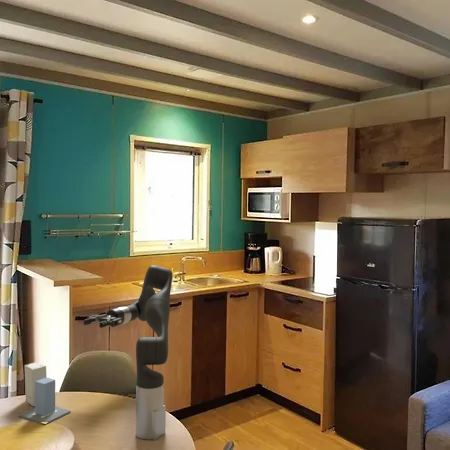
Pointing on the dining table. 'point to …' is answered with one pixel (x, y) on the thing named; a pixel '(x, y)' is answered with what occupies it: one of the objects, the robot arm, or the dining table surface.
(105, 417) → the dining table surface
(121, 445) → the dining table surface
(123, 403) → the dining table surface
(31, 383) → the skincare box
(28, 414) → the letter mat
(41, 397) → the blue block
